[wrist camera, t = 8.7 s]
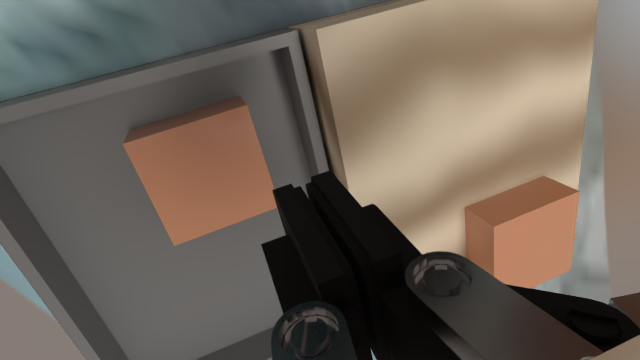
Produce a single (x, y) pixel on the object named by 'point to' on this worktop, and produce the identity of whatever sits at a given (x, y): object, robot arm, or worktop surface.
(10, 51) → the worktop surface
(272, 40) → the box
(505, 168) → the bench plate
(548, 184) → the tile
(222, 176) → the tile
